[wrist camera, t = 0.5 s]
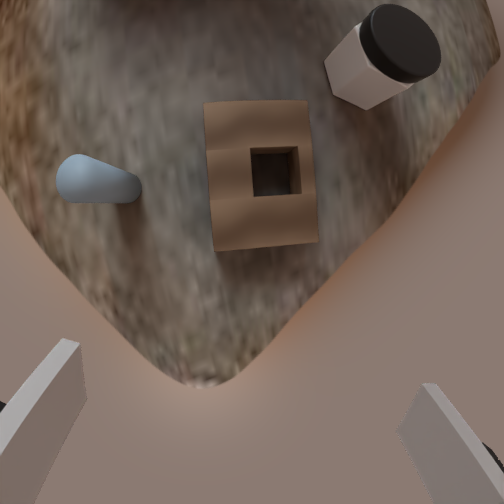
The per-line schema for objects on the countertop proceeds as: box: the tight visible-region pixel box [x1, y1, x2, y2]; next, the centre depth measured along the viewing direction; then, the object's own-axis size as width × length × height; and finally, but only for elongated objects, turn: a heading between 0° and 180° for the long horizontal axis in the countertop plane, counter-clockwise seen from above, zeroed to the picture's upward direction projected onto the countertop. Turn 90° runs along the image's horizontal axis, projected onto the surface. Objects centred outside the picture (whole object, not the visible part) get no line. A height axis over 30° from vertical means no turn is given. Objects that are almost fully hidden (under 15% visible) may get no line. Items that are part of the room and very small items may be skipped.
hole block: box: [203, 100, 319, 252], centre depth 31 cm, size 14×10×4 cm
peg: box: [56, 154, 141, 203], centre depth 25 cm, size 3×3×14 cm
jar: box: [324, 4, 441, 110], centre depth 28 cm, size 9×8×12 cm
